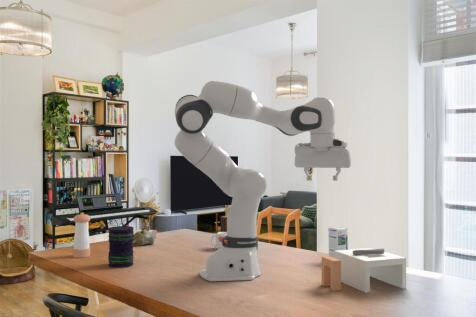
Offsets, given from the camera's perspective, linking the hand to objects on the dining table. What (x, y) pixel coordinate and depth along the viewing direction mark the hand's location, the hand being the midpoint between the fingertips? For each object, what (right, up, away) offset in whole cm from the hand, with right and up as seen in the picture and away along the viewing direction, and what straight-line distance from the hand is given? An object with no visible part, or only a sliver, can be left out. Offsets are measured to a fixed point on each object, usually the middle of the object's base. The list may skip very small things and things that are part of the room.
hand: (322, 180), depth 153 cm
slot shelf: (+14, -35, -9) cm, 39 cm away
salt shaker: (-100, -35, +32) cm, 111 cm away
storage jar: (-78, -35, +16) cm, 87 cm away
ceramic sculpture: (-80, -36, +60) cm, 106 cm away
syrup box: (+12, -36, +24) cm, 45 cm away
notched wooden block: (0, -35, -14) cm, 38 cm away
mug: (-39, -36, +51) cm, 74 cm away
